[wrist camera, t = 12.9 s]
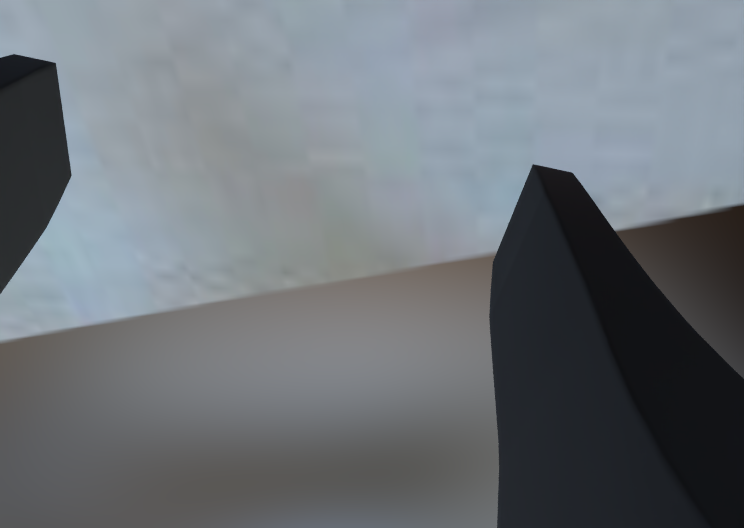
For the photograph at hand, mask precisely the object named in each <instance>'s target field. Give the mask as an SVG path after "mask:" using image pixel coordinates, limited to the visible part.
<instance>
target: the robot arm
mask: <svg viewBox="0 0 744 528" xmlns="http://www.w3.org/2000/svg"><path fill="white" fill-rule="evenodd" d="M70 178H71V169H70V161H69V154H68V147H67V140H66V133H65V126H64V119H63V111H62V104H61V97H60V90H59V83H58V76H57V69H56V63H53V62H48V61H44V60H39V59H34V58H30V57H25V56H20V55H15V54H13V55H9V56H6V57H2V58H0V294H1V292H2V291H3V289H4V288H5V287H6V285H7V284H8V282H9V281H10V280H11V278H12V277H13V275H14V274H15V272H16V271H17V270H18V268H19V267H20V265H21V264H22V262H23V261H24V260H25V258H26V257H27V255H28V254H29V252H30V251H31V249H32V248H33V247H34V245H35V244H36V242H37V241H38V239H39V238H40V236H41V235H42V233H43V232H44V230H45V229H46V227H47V225H48V223H49V221H50V219H51V217H52V215H53V213H54V212H55V210H56V208H57V206H58V204H59V201H60V199H61V197H62V195H63V193H64V191H65V188H66V186H67V184H68V182H69V180H70ZM490 334H491V348H492V361H493V374H494V387H495V400H496V414H497V425H498V426H497V427H498V440H499V491H498V520H497V528H744V379H743V378H742V377H741V376H740V375H739V374H738V373H737V372H736V371H735V370H734V369H733V368H732V367H731V366H730V365H729V364H728V363H727V362H726V361H725V360H724V359H723V358H722V357H721V356H720V355H719V354H718V353H717V352H716V351H715V350H714V349H713V348H712V347H711V346H710V345H709V344H708V343H707V342H706V341H705V340H704V339H703V338H702V337H701V336H700V335H699V334H698V333H697V332H696V331H695V330H694V329H693V328H692V326H691V325H690V324H689V323H688V322H687V321H686V320H685V319H684V318H683V317H682V315H681V314H680V313H679V312H678V311H677V310H676V308H675V307H674V306H673V305H672V304H671V303H670V301H669V300H668V299H667V298H666V297H665V296H664V294H663V293H662V292H661V291H660V290H659V289H658V287H657V286H656V285H655V284H654V282H653V281H652V280H651V279H650V277H649V276H648V275H647V274H646V272H645V271H644V270H643V269H642V267H641V266H640V265H639V263H638V262H637V261H636V259H635V258H634V257H633V255H632V254H631V253H630V252H629V250H628V249H627V247H626V246H625V245H624V243H623V242H622V241H621V239H620V238H619V236H618V235H617V234H616V232H615V231H614V230H613V228H612V227H611V225H610V224H609V223H608V221H607V220H606V218H605V217H604V216H603V214H602V213H601V211H600V210H599V208H598V207H597V206H596V204H595V203H594V201H593V200H592V199H591V197H590V196H589V194H588V193H587V192H586V190H585V189H584V187H583V186H582V185H581V183H580V182H579V181H578V179H577V178H576V177H575V176H574V174H573V173H571V172H566V171H562V170H557V169H552V168H548V167H543V166H538V165H534V164H533V166H532V168H531V170H530V173H529V175H528V178H527V180H526V183H525V185H524V188H523V190H522V192H521V195H520V197H519V200H518V202H517V205H516V207H515V210H514V212H513V214H512V217H511V219H510V222H509V224H508V227H507V229H506V232H505V234H504V236H503V239H502V241H501V244H500V246H499V249H498V251H497V254H496V256H495V259H494V261H493V269H492V283H491V298H490Z"/></svg>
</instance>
